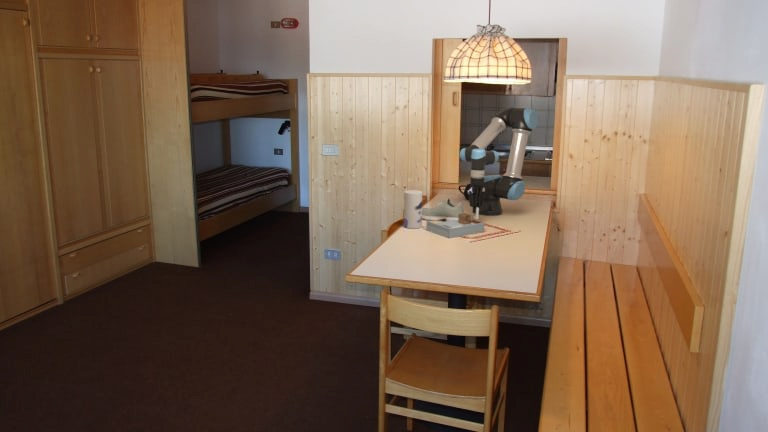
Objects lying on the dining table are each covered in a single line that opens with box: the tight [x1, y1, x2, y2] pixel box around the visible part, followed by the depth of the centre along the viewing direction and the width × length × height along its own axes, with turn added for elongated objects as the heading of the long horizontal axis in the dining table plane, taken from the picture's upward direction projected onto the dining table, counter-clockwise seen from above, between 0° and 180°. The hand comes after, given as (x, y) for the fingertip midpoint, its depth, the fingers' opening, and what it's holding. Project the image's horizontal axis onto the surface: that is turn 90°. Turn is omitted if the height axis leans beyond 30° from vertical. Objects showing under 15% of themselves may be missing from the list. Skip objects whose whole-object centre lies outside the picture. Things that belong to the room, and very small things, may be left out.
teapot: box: [458, 183, 471, 201], centre depth 439 cm, size 25×16×12 cm, turn 67°
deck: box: [426, 220, 485, 239], centre depth 360 cm, size 24×20×5 cm
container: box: [403, 189, 423, 229], centre depth 367 cm, size 10×10×20 cm
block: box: [458, 212, 472, 225], centre depth 365 cm, size 5×5×5 cm
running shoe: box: [422, 197, 465, 222], centre depth 383 cm, size 11×30×14 cm, turn 63°
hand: (475, 218), depth 369 cm, fingers closed
